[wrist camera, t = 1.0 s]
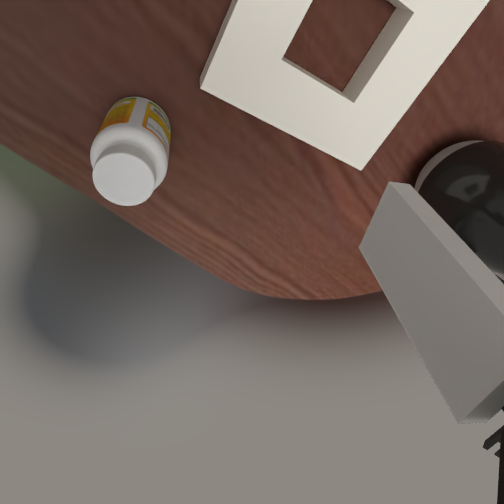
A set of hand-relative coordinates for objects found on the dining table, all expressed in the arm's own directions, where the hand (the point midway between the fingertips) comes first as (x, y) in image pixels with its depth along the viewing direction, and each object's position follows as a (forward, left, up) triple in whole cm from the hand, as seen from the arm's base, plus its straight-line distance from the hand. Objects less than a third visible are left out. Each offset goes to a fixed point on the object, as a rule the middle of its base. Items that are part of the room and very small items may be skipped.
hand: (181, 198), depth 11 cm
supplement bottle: (-1, -7, -23) cm, 24 cm away
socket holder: (+10, +7, -22) cm, 25 cm away
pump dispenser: (+29, +2, -23) cm, 37 cm away
